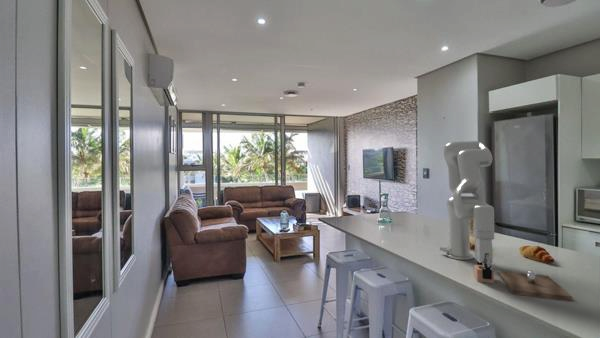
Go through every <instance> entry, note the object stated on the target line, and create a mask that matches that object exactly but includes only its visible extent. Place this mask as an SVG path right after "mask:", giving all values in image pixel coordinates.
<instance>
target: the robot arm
mask: <svg viewBox="0 0 600 338" xmlns="http://www.w3.org/2000/svg"><path fill="white" fill-rule="evenodd" d="M443 147H444V148H443V156H444V159H445V162H446V165H447V169H448V186H449V187H448V188H449V191H450V192H451V193H453V196H451V197H449V198H448V199H447V201H446V207H447V212H448V213H447V214H448V227H449V229H448V230H449V231H448V233H449V234H448V235H449V237H448V238H449V240H448V246H446V247H444V246H439V252H440V251H442V252H443V253H445V255H446V257H448V258H451V259H453V260H460V261H461V260H462V261H463V260H464V261H470V260H473V259H474V258H475V260H476V261H477V262H476V263H477V264H476V265H483V269H482V278H483V279H490V280H491V279H492V269H493V267H492V264H493V260H494V259H493V257H494V256H493V241H492V240H495V208H494V207H493V205H491V204H488V203H487V202H486V194H485V193H486V192H485V191H486V190H485V184H484V180H483V178H482V175H481V168H480V167H489V166H491V165H492V162H493V155H492V152H491V150H490V149H489V148H488V147H487V146H486V145H485V144H484V143H483V142H481V141H474V140H473V141H472V140H471V141H470V140H469V141H463V140H462V141H452V142H448V143H446V144H445V145H444V146H443ZM462 194H472V195H471V196H469V195H468V196H467V195H462ZM469 220H472V222H473V223H472V224H473V225H472V226H473V228H472V229H473V230H472V231H473V238H474V240H475V241H474V255H473V254H472V253H471V244H470V243H471V235H470V234H471V231H470V230H471V225H470V222H469Z"/></svg>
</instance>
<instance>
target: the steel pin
mask: <svg viewBox="0 0 600 338" xmlns="http://www.w3.org/2000/svg"><path fill="white" fill-rule="evenodd" d="M527 274H528V283H532V284H535V275H536V274H535V272H534V271H533V270H528V271H527Z"/></svg>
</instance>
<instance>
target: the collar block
mask: <svg viewBox="0 0 600 338" xmlns="http://www.w3.org/2000/svg"><path fill="white" fill-rule="evenodd" d="M473 265H474V266H473V269H474V271H473V273H474V278H475V279H476V282H480V283H489V284H494V283H495V271H494V269H493V268H492V279H491V280H490V279H483V278H482V269H483V265H477V264H473Z"/></svg>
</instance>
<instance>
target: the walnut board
mask: <svg viewBox="0 0 600 338" xmlns="http://www.w3.org/2000/svg"><path fill="white" fill-rule="evenodd" d="M497 275H498V276H499V278H500V279H501V280H502V282H503V283H504V285H506V287H507V288H508V290H509V291H510V293H511V294H513V295H521V296H527V297H528V296H529V297H536V298H546V299H554V300H555V299H556V300H564V301H574V299H573V296H572V295H571V294H570V292H568V291H567V290H565V289H564V288H563V287H562V286H561V285H560V284H558V283H557V282H556V281H555V280H554V279H553V278H551V277H550V276H549V275H544V274H535V284H532V283H528V273H525V272H523V273H522V272H511V271H504V270H503V271H500V270H497Z"/></svg>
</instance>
